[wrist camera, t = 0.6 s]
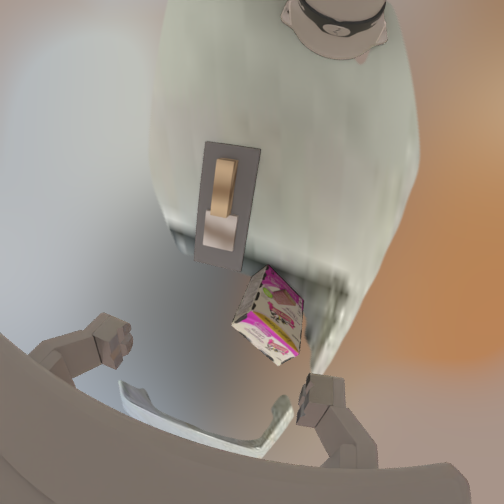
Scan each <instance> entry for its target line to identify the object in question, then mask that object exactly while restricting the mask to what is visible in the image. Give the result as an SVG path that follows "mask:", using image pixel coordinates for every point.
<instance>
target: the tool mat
mask: <svg viewBox="0 0 504 504" xmlns="http://www.w3.org/2000/svg"><path fill="white" fill-rule="evenodd" d="M260 152H261V149H256V148H249V147H243V146H236V145H229V144H222V143H214V142H205V149H204V157H203V166H202V174H201V183H200V193H199V203H198V214H197V225H196V237H195V251H194V261H197V262H201V263H205V264H209V265H213V266H217V267H221V268H225V269H230V270H234V271H238V272H241V270H242V263H243V257H244V251H245V244H246V238H247V232H248V226H249V219H250V213H251V207H252V201H253V195H254V188H255V182H256V176H257V170H258V164H259V158H260ZM219 158H228V159H234V160H238V167H237V173H236V180H235V187H234V194H233V201H232V209H231V214H235V215H239V217H238V223H237V230H236V237H235V244H234V250H233V252H232V251H227V250H223V249H219V248H214V247H210V246H206V245H203V237H204V226H205V216H206V210H207V209H210V210H211V202H212V194H213V185H214V177H215V169H216V162H217V159H219Z"/></svg>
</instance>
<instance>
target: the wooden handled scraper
mask: <svg viewBox="0 0 504 504" xmlns="http://www.w3.org/2000/svg"><path fill="white" fill-rule="evenodd" d="M237 167H238V160H234V159H228V158H219V159H217V162H216V169H215V177H214V185H213V194H212V202H211V210H210V209H207V210H206V216H205V226H204V237H203V245H206V246H210V247H214V248H219V249H223V250H227V251H232V252H233V250H234V244H235V237H236V230H237V223H238V217H239V215H235V214H231V209H232V201H233V194H234V187H235V180H236V173H237Z"/></svg>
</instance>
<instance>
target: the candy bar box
mask: <svg viewBox="0 0 504 504" xmlns="http://www.w3.org/2000/svg"><path fill="white" fill-rule="evenodd" d="M303 306H304V300H303V299H302V298H301V297H300V296H299V295H298V294H297V293H296V292H295V291H294V290H293V289H292V288H291V287H290V286H289V285H288V284H287V283H286V282H285V281H284V280H283V279H282V278H281V277H280V276H279V275H278V274H277V273H276V272H275V271H274V270H273V269H272V268H271V267H270V266H269V265H266V266H265V267H264V268H263V269H262V270H260V271H259V272H258V273H256V274H255V275H254V276H252V277H251V280H250V282H249V284H248V287H247V289H246V292H245V294H244V296H243V298H242V301H241V303H240V305H239V308H238V310H237V312H236V315H235V317H234V319H233V321H232V324H231V325H232V326H233V327H234V328H235V329H236V330H237V331H238V332H239V333H241V334H242V335H243V336H244V337H245V338H246V339H247V340H249V341H250V342H251V343H252V344H253V345H254V346H255V347H256V348H258V349H259V350H260V351H261V352H262V353H263V354H265V355H266V356H267V357H268V358H269V359H270V360H272V361H273V362H274V363H275V364H276V365H278V366H279V365H281V364H283V363H284V362H286V361H288V360H290V359H291V358H294V357H296V356H297V355H299V354H300V344H301V332H302V319H303Z"/></svg>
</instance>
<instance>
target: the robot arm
mask: <svg viewBox="0 0 504 504" xmlns="http://www.w3.org/2000/svg"><path fill="white" fill-rule="evenodd" d="M385 5H386V0H288V1H287V3H286V5H285V7H284V9H283V11H282V14H281V20H282V21H283V22H284V23H285V24H286V25H288V26H289V27H290V28H292V29H293V30H294V32H295V33H296V35H297V37H298V38H299V40H300V41H301V42H302V43H303V44H304V45H305V46H306V47H307V48H309V49H310V50H311V51H313V52H315V53H317V54H319V55H321V56H324V57H327V58H331V59H339V60H345V59H352V58H356V57H358V56H360V55H362V54H364V53H365V52H367V51H368V50H369V49H370V48H372V47H373V46H377V45H381V44H384V43H386V41H387V38H388V37H387V31H386V21H385V19H384V14H383V13H384V9H385ZM288 12H289V13H288ZM130 331H131V325H130V324H129V323H127V322H125V321H123V320H120V319H118V318H116V317H113V316H111V315H108V314H106V313H101V314H100V315H99V316H98V317H97V318H96V319H94V321H92V322H91V323H90V324H89V325H88V326H87V327H86V328H85V329H84V330H83V331H82V330H79V331H75V332H72V333H69V334H65V335H62V336H58V337H55V338H51V339H48V340H44V341H42V342H41V343H40V344H39V345H38V346H37V347H36V348H35V349H34V350H33V351H32V352H31V353H30V354H28V355H27V354H25V353H24V352H23V351H22V350H20V349H19V348H18V347H17V346H15V345H14V344H13V343H12V342H11V341H9V340H8V339H7V338H6V337H5V336H3V335H2V334H1V333H0V504H471V493H470V487H469V483H468V481H467V479H466V478H465V477H464V476H463V475H462V474H461V473H460V471H459V470H457V469H456V468H455V467H454V466H453V465H452V464H451V463H447V462H445V463H437V464H430V465H422V466H413V467H402V468H387V469H386V468H385V469H378V453H377V444H376V443H375V442H374V440H373V439H372V438H371V436H370V435H369V434H368V432H367V431H366V430H365V429H364V427H363V426H362V425H361V423H360V422H359V421H358V420H357V418H356V417H355V416H354V414H353V413H352V411H351V410H350V409H349V408H346V402H345V383H344V379H343V378H339V377H331V376H326V375H320V374H313V373H309V374H308V376H307V379H306V384H304V385H303V387H302V390H301V393H300V397H299V403H298V405H299V406H300V409H299V410H298V413H297V421H296V425H300V426H306V427H312V428H315V430H316V432H317V434H318V436H319V438H320V440H321V442H322V444H323V446H324V448H325V450H326V452H327V453H328V455H329V457H330V458H328V459H327V460H326V462H324V464H322V465H321V466H320V467H313V466H304V465H295V464H288V463H281V462H275V461H269V460H264V459H259V458H254V457H249V456H245V455H240V454H236V453H232V452H228V451H224V450H220V449H217V448H213V447H210V446H206V445H203V444H200V443H197V442H194V441H191V440H188V439H185V438H182V437H179V436H176V435H173V434H171V433H168V432H165V431H163V430H160V429H158V428H155V427H153V426H150V425H148V424H145V423H143V422H141V421H138V420H136V419H134V418H132V417H129V416H127V415H125V414H123V413H121V412H119V411H117V410H115V409H113V408H111V407H109V406H107V405H105V404H103V403H101V402H99V401H97V400H96V399H94V398H92V397H90V396H89V395H87V394H85V393H83V392H81V391H80V390H78V389H76V387H75V384H74V382H73V380H72V378H74V377H76V376H78V375H81V374H83V373H84V372H87V371H89V370H91V369H93V368H95V367H97V366H99V365H101V363H102V364H104V365H106V366H109V367H111V368H113V369H117V368H118V366H119V365H120V364H121V362H122V361H123V356H125V355H128V353H129V352H130V351H131V348H132V345H133V337H132V335H131V334H130Z"/></svg>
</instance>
